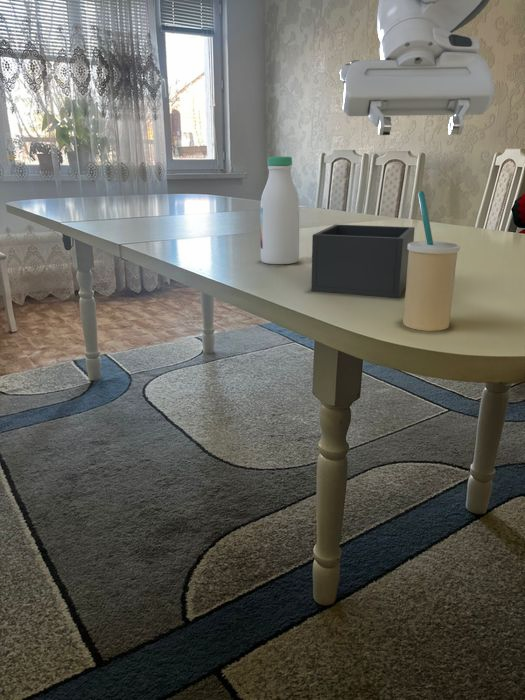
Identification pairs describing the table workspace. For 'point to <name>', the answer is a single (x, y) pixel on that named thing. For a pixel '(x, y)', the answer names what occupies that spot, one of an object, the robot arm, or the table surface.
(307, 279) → the table surface
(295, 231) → the milk bottle
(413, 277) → the takeaway cup
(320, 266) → the bin
